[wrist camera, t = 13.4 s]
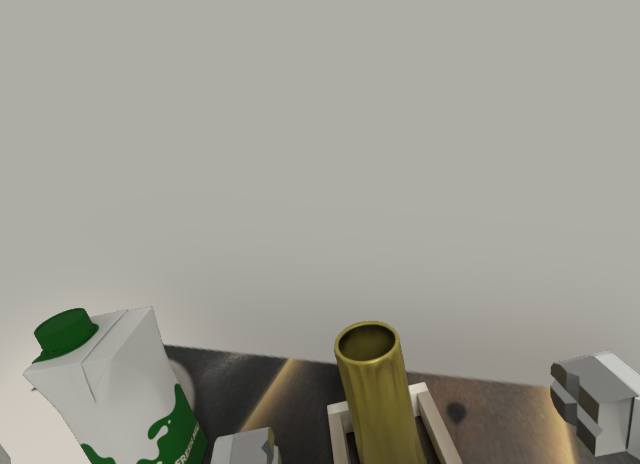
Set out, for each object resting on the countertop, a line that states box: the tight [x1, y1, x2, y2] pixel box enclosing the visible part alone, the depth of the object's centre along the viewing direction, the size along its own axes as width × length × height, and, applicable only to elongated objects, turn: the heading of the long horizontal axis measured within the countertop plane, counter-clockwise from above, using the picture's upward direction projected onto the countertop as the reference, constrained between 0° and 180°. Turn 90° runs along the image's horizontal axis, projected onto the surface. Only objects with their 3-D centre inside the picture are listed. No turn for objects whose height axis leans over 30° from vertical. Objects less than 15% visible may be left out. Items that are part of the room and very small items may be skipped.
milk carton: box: [23, 306, 209, 464], centre depth 36 cm, size 9×9×20 cm
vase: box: [334, 321, 427, 464], centre depth 33 cm, size 6×6×14 cm
